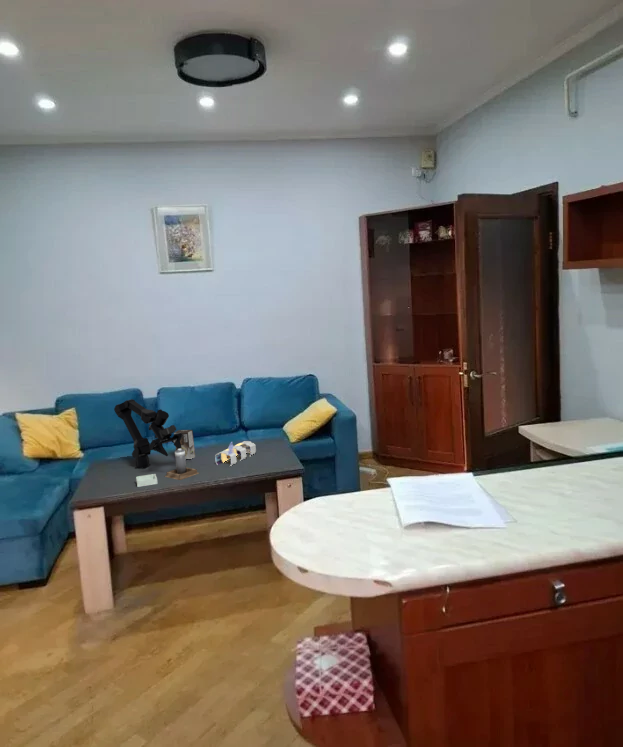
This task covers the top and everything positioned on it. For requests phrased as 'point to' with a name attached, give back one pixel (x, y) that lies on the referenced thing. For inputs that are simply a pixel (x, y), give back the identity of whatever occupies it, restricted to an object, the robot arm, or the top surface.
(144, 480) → the white square tray
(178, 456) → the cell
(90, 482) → the top surface
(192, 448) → the coffee box
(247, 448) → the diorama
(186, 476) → the brown wooden tray
